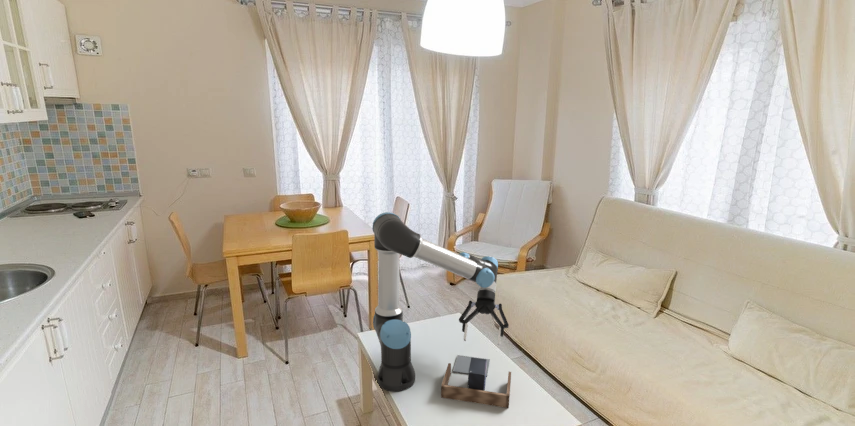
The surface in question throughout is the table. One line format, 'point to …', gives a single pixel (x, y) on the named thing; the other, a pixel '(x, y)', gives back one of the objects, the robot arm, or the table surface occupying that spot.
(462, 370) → the rubber mat
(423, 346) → the table surface
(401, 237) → the robot arm
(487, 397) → the walnut bay
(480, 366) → the small box
